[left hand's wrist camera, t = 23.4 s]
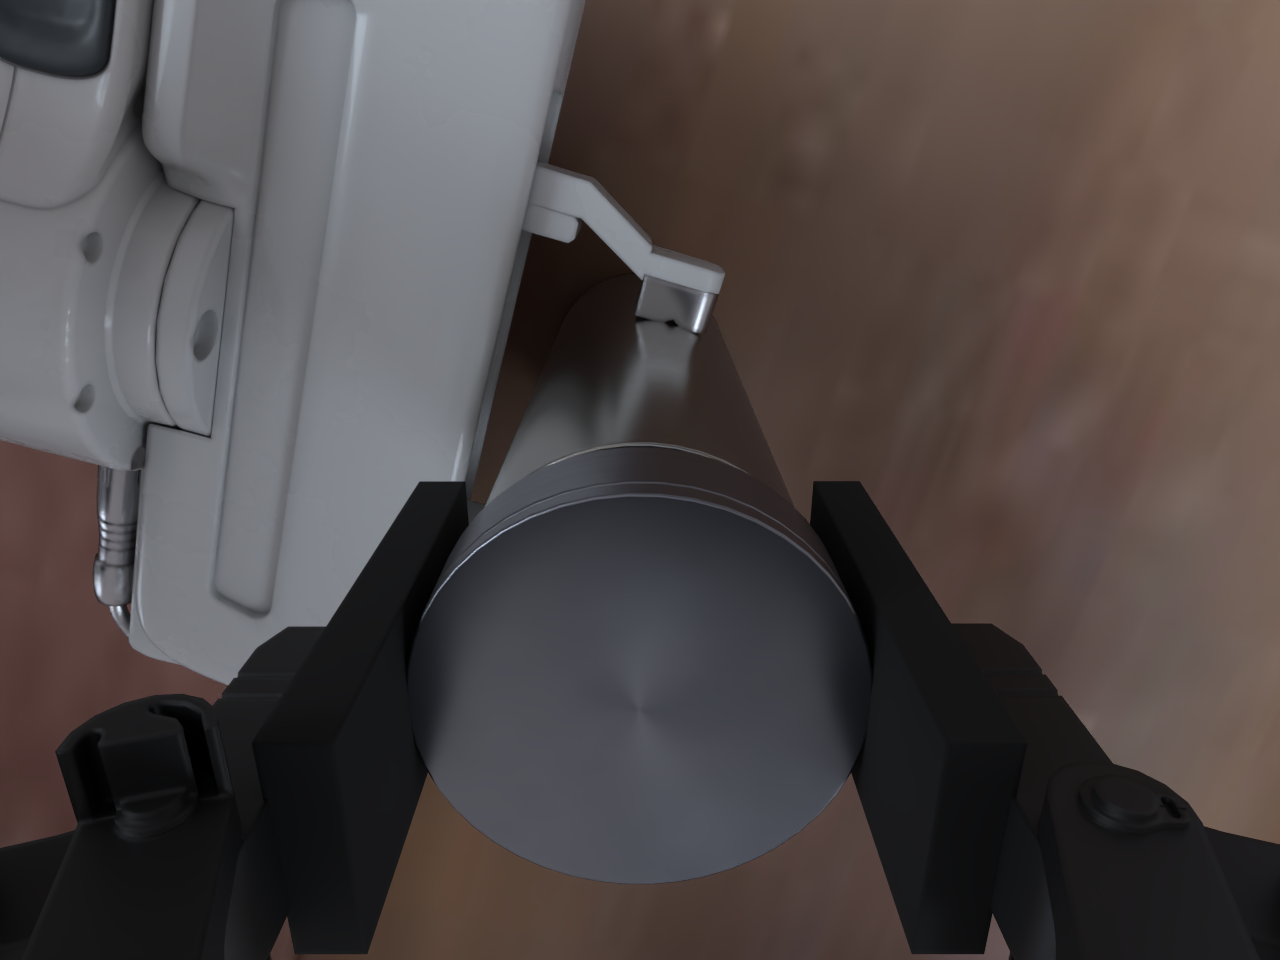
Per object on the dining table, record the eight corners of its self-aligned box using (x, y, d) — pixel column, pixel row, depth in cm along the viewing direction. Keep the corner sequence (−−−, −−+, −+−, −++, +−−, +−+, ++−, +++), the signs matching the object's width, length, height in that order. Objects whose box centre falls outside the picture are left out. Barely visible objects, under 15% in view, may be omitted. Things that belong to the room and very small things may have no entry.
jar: (537, 292, 27) (383, 523, 11) (707, 256, 26) (814, 440, 10) (577, 450, 29) (497, 851, 13) (735, 419, 28) (863, 792, 12)
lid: (667, 354, 11) (671, 390, 9) (926, 659, 12) (965, 732, 11) (347, 617, 12) (305, 685, 10) (618, 859, 14) (615, 949, 12)
